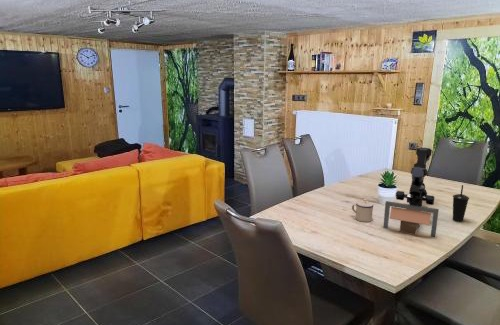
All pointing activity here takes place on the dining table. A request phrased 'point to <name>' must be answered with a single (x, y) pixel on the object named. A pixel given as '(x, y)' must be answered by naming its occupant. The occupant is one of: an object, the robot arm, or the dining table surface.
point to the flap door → (410, 216)
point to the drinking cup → (459, 206)
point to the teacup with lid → (363, 210)
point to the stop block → (409, 226)
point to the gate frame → (412, 207)
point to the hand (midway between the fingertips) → (412, 211)
